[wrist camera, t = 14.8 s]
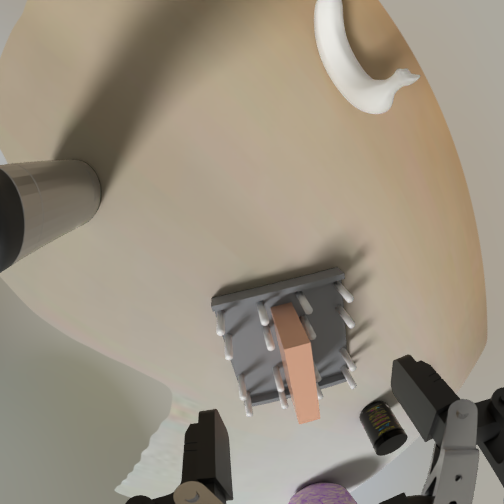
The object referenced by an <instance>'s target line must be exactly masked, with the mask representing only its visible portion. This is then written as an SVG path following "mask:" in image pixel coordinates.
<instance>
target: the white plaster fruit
mask: <svg viewBox="0 0 504 504" xmlns="http://www.w3.org/2000/svg"><path fill="white" fill-rule="evenodd" d="M314 30H315V38H316V43H317V48H318V51H319V54H320V57H321V60H322V62H323V65H324V67H325V69H326V71H327V73H328V75H329V77H330V78H331V80H332V82H333V83H334V85H335V86H336V87H337V89H338V90H339V91H340V93H341V94H342V95H343V96H344V97H345V98H346V100H348V101H349V102H350V103H351V104H352V105H353V106H354V107H356V108H357V109H359V110H361V111H363V112H366V113H370V114H382V113H385V112H387V111H388V110H389V109H390V107H391V106H392V103H393V99H394V95H395V93H396V92H397V91H398V90H399V89H400V88H401V87H403V86H408V85H411V84H413V83H414V82H416V81H417V80H418V79H419V78H420V75H416V74H411V73H410V71H409V70H408V69H407V68H406V69H397V70H396V71H395V73H394V74H393V75H392V76H391V77H389V78H388V79H386V80H374V79H372V78H371V77H370V76H369V75H368V74H367V73H366V72H365V71H364V70H363V68H362V67H361V65H360V64H359V62H358V61H357V59H356V57H355V55H354V53H353V51H352V49H351V47H350V45H349V42H348V40H347V36H346V32H345V27H344V19H343V5H342V0H317V2H316V5H315V11H314Z"/></svg>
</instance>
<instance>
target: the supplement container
mask: <svg viewBox="0 0 504 504" xmlns="http://www.w3.org/2000/svg"><path fill="white" fill-rule="evenodd" d="M360 421H361V423H362V425H363V427H364V429H365V431H366V433H367V435H368V437H369V439H370V441H371V443H372V445H373V448H374V450H375V452H376V454H377V455H380V456H381V455H386V454H389V453H392V452H393V451H395V450H397V449H398V448H400V447H401V446H402V445H403V444H404V443H405V442H406V440H407V435H406V433H405V431H404V430H403V428H402V427H401V425H400V424H399V422H398V420H397V419H396V417H395V415H394V414H393V412H392V411H391V409H390V407H389V406H388V404H387V403H386V402H383V401H377V402H374V403H371V404H370V405H368V406H367V407H365V408H364V409H363V411H362V412H361V414H360Z"/></svg>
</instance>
